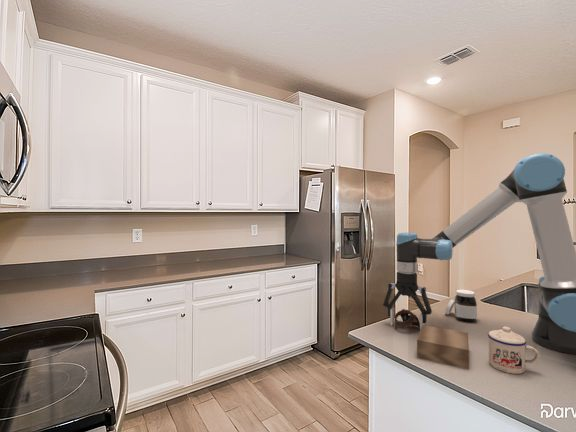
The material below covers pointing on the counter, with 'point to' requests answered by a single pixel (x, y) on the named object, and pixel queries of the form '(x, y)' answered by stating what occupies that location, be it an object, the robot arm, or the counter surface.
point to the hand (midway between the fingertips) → (406, 327)
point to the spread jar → (464, 306)
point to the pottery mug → (406, 319)
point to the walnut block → (443, 346)
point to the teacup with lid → (508, 351)
